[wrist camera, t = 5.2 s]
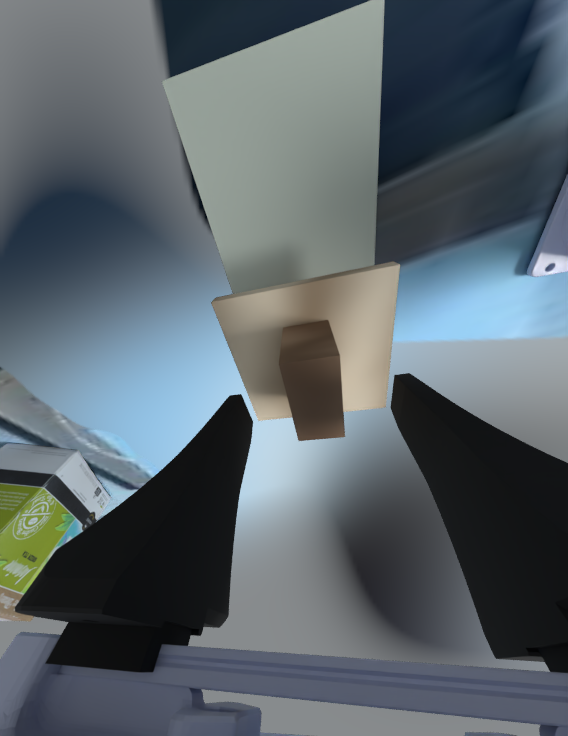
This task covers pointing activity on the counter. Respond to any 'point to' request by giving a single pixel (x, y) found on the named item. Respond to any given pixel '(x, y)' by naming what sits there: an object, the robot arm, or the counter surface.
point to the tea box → (40, 513)
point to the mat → (289, 148)
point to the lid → (314, 346)
